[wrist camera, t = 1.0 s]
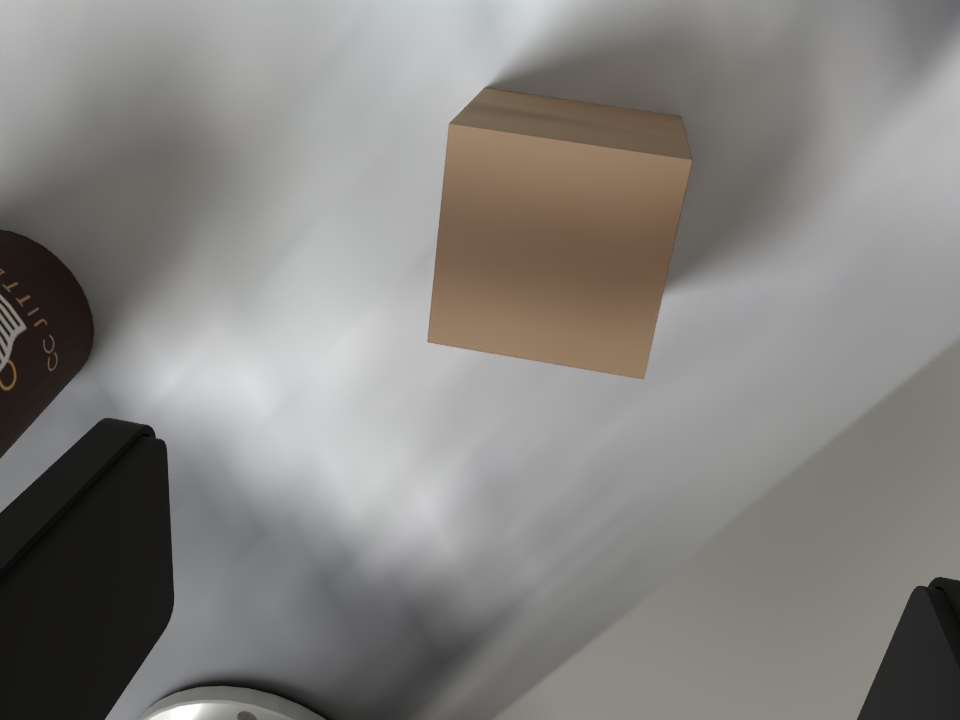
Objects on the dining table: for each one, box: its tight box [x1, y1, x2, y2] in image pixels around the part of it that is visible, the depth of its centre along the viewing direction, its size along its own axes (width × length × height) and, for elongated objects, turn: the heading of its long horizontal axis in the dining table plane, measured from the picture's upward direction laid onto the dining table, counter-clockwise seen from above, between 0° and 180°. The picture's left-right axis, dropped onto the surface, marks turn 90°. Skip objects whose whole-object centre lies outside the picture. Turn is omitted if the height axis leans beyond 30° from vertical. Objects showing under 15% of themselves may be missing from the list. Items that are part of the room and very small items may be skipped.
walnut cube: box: [427, 88, 692, 379], centre depth 26 cm, size 6×6×6 cm
